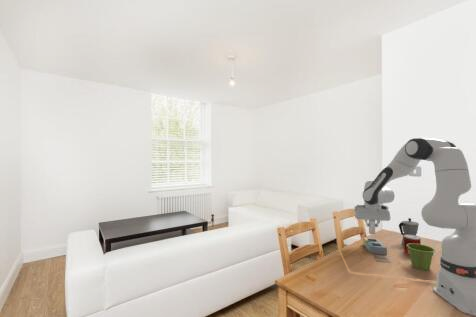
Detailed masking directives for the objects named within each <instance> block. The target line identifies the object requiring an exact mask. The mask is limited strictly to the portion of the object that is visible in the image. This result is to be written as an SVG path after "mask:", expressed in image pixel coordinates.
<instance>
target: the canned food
mask: <svg viewBox="0 0 476 317" xmlns="http://www.w3.org/2000/svg"><path fill="white" fill-rule="evenodd" d="M421 242H422V241H421V237H420V236H418V235H416V236H415V235H404V245H403V252H404V253H405V254H407V255H409V256H410V253H409V250H408V247H407V244H410V243H414V244H421ZM421 245H422V244H421Z"/></svg>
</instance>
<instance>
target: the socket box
mask: <svg viewBox="0 0 476 317" xmlns="http://www.w3.org/2000/svg"><path fill="white" fill-rule="evenodd" d="M362 245H363V246H364V247H365V248H366V249H367V251H368V252H369V253H370V254H374V255H388V248H387V246H386V245H385V244H384V243H383V242H382V241H381V240H380V239H379V238H374V237H373V238H372V237H362Z"/></svg>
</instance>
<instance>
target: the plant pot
mask: <svg viewBox="0 0 476 317" xmlns="http://www.w3.org/2000/svg"><path fill="white" fill-rule="evenodd" d="M407 247H408V250H409V253H410V255H409V258H410V262H411V266H412V267H414V268H416V269H418V270H421V271H429V270H431V265H432V259H433V256H434V253H435V252H436V249H435V248H434V247H431V246H428V245H426V244H414V243H410V244H407Z"/></svg>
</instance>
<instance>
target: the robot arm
mask: <svg viewBox="0 0 476 317" xmlns="http://www.w3.org/2000/svg"><path fill="white" fill-rule="evenodd" d="M422 160H423V161H427V162H431V163H433V167H434V174H435V185H436V188H435V189H436V190H435V193H434V196H433V197H432V199H431V200H429V201H428V202H427V203H426V204H425V205H423V206H422V208H421V218H422V220H423V221H424V222H425V224H427V225H428V226H430V227H431V226H432V227H435V228H441V229H447V230H448V229H450V230H453V229H454V231H453V233H451V234H450V235H448V236H445V237H444V238H443V239H442V240H441V256H440V260H439V262H440V264H439V265H440V269H439V270H438V271H437V274H436V281H435V282H436V284H435V286H434V287H432V292H434V293H436V294H437V295H438V296H439V297H440V298H442V299H444V300H445V301H446V302H447V303H449V304H450V305H451V306H453V307H454V308H455V309H457V310H458V311H460V312H462V313H464V314H467V315H469V316H474V317H476V203H467V202H466V203H464V202H463V203H462V202H461V203H460V202H459V199H460V196H462V195H465V194H467V192H469V191H470V190H471V188H472V183H471V182H472V181H471V177H470V172H469V167H468V163H467V159H466V157H465V155H464V152H463V151H462V150H461V149H460V148H457V146H456V144H455V143H453V142H451V141H449V140H445V139H444V140H443V139H436V138H430V137H428V138H426V137H414V138H411V139H409V140H408V141H407V142H406V143H404V144H403V145H402V146H401V148H400V149H399V150H398V151H397V152H396V154H395V155H394V157H393V159H392V160H391V161H390V163H389V164H388V165H387V166H385V168H383V169H382V170H381V171H380V172H379V173H378V175H377V176H376V177H375V178H374V179H373V180H369V181H366V182H365V184H364V188H363V191H362V198H363V201H364V202H363V205H362V204H356V205H355V206H354V218H355V220H362V221H363V220H364V222H365V224H366V227H369V220H375V221H376V222H375V228H378V227H379V224H380V222H381V221H383V222H384V221H385V222H389V221H390V220H391V213H390V211H389V206H388V205H386V204H389V203H392V202H393V201H394V199H395V192H394V191H393V189H391V188H389V187H387V186H386V185H387V184H388V183H390V182H391V181H393V180H396V179H400V178H403V177H406V176H409V175H410V174H411V173H412V172H413V171H415V169H416V168H417V166H418V164H419V163H420V162H421V161H422Z"/></svg>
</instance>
